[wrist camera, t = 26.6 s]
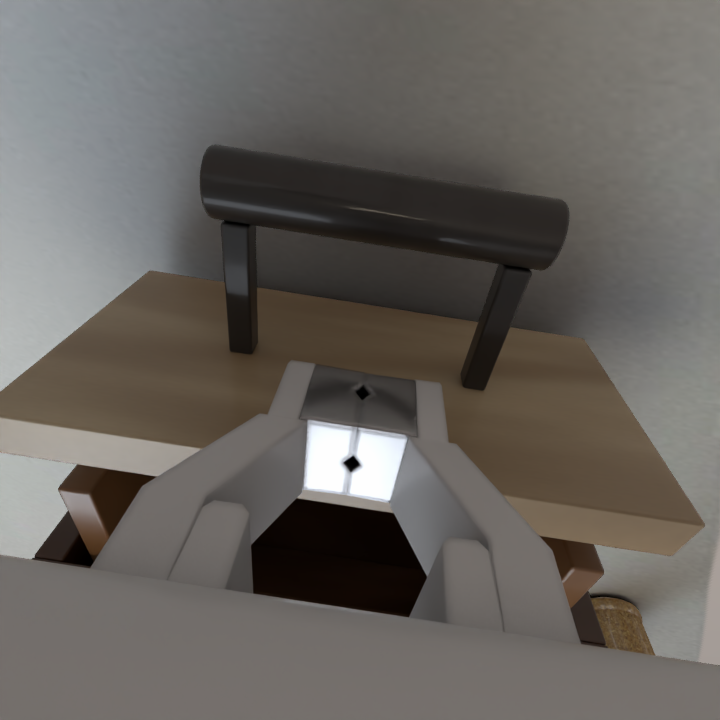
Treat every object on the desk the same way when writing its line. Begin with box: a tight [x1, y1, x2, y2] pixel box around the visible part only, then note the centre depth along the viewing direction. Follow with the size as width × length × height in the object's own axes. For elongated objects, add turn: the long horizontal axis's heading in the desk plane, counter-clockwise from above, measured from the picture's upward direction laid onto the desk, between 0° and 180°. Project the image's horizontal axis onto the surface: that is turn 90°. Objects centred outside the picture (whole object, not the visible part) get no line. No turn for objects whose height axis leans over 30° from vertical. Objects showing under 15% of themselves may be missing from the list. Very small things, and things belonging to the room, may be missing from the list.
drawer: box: [0, 145, 705, 615], centre depth 14 cm, size 19×14×7 cm
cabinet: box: [32, 511, 608, 648], centre depth 18 cm, size 16×16×9 cm
